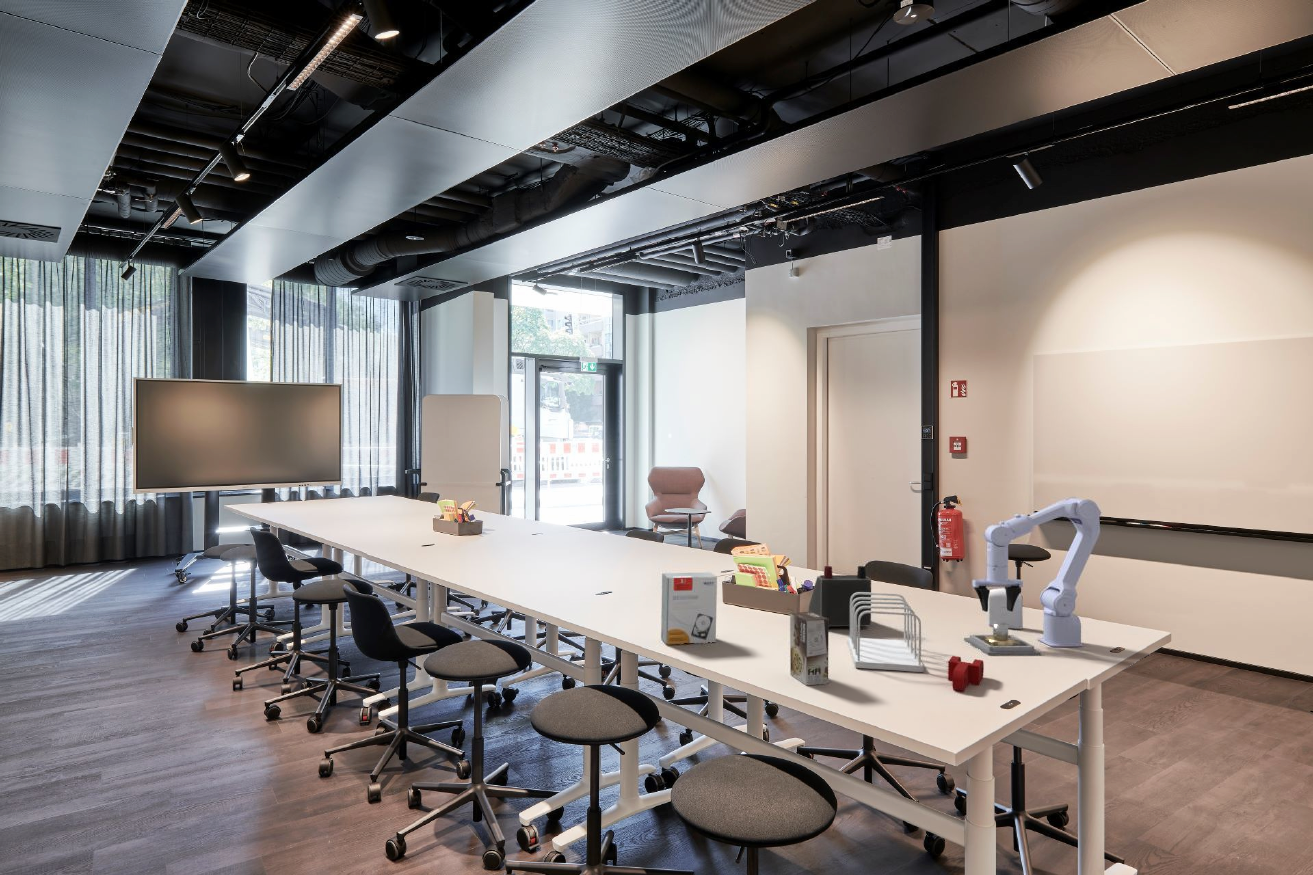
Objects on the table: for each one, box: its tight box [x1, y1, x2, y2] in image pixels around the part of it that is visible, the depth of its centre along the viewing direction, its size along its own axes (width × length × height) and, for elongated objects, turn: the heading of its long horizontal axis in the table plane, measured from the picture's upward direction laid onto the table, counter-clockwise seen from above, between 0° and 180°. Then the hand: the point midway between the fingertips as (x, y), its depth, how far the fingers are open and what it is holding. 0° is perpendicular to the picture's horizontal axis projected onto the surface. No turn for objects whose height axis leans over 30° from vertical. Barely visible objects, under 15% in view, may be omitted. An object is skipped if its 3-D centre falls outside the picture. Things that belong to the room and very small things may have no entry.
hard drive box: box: [660, 571, 718, 645], centre depth 218 cm, size 16×8×20 cm, turn 102°
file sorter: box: [846, 592, 925, 673], centre depth 203 cm, size 25×17×16 cm
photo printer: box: [987, 588, 1024, 630], centre depth 235 cm, size 10×4×12 cm, turn 63°
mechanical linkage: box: [947, 655, 985, 692], centre depth 181 cm, size 16×7×5 cm, turn 148°
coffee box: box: [789, 610, 830, 686], centre depth 183 cm, size 9×6×16 cm
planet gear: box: [984, 622, 1018, 646], centre depth 212 cm, size 9×9×6 cm
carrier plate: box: [963, 634, 1042, 656], centre depth 212 cm, size 15×15×2 cm
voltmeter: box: [808, 565, 872, 630], centre depth 239 cm, size 16×16×20 cm
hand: (997, 610), depth 218 cm, fingers open, 7 cm apart
